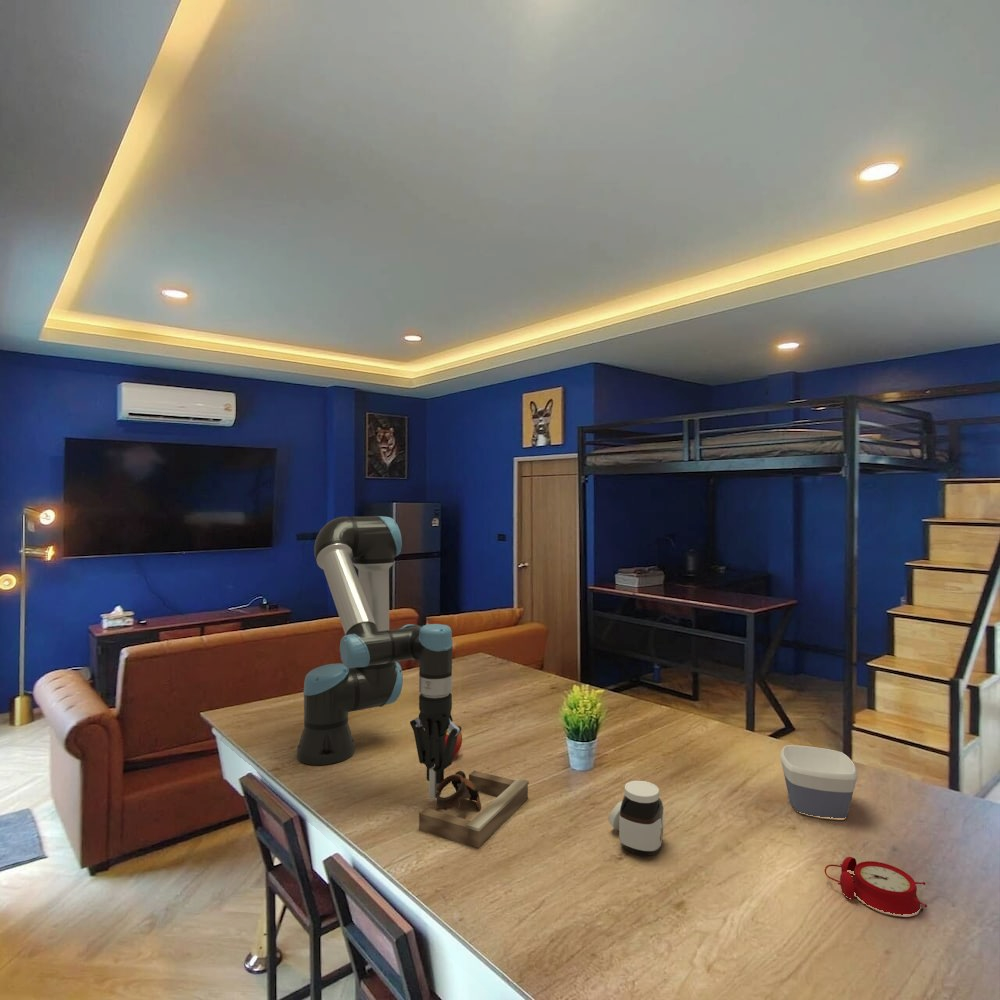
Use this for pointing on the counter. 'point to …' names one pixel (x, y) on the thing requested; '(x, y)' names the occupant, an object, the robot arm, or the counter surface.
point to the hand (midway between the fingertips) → (435, 795)
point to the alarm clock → (879, 886)
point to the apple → (458, 742)
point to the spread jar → (639, 818)
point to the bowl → (818, 780)
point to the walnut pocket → (486, 821)
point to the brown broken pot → (457, 791)
